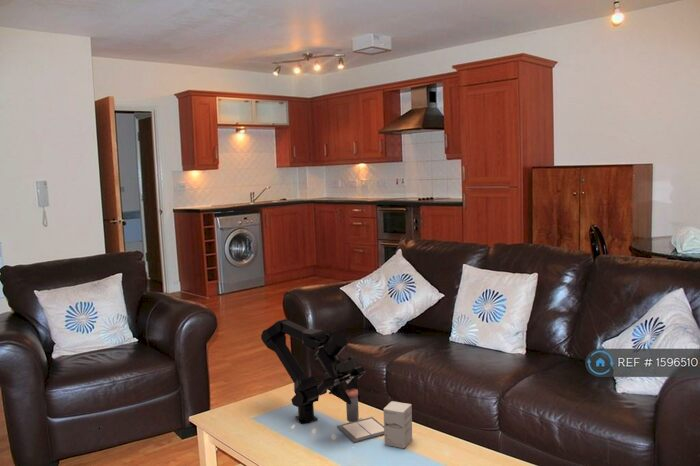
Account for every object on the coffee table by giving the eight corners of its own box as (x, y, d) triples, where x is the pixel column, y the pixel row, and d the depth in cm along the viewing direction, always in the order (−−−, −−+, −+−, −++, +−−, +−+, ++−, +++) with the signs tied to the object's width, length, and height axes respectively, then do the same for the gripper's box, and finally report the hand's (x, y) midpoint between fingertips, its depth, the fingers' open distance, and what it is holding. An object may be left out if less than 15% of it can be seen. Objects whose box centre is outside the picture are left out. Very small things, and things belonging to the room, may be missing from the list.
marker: (344, 418, 201) (343, 389, 200) (355, 415, 203) (354, 387, 201) (349, 423, 197) (348, 394, 196) (361, 420, 199) (359, 391, 198)
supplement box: (383, 445, 195) (382, 408, 193) (393, 435, 201) (391, 400, 200) (404, 449, 191) (403, 412, 190) (413, 439, 198) (411, 403, 196)
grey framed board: (337, 427, 210) (336, 423, 210) (372, 418, 216) (372, 414, 215) (354, 443, 197) (354, 439, 197) (391, 433, 203) (390, 429, 203)
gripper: (321, 357, 193) (346, 398, 187) (360, 343, 206) (385, 380, 200) (306, 375, 200) (330, 415, 193) (345, 360, 213) (369, 397, 206)
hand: (355, 401), depth 198 cm, fingers closed on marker, 4 cm apart
